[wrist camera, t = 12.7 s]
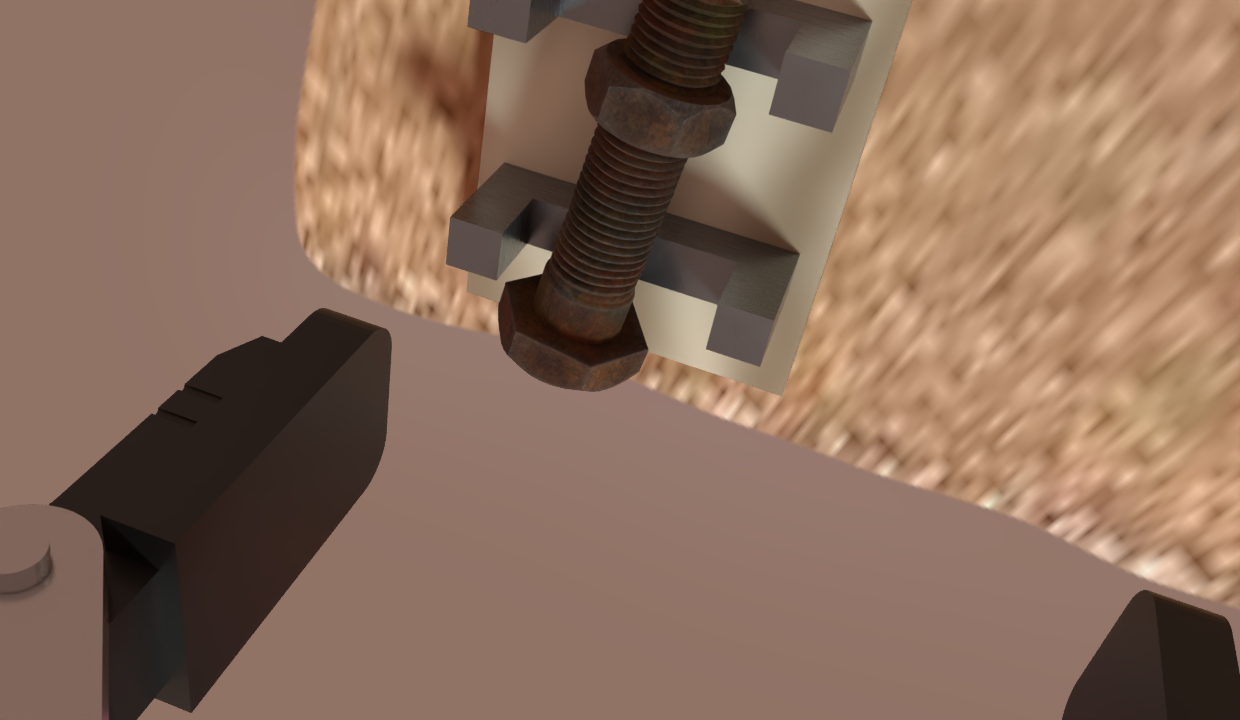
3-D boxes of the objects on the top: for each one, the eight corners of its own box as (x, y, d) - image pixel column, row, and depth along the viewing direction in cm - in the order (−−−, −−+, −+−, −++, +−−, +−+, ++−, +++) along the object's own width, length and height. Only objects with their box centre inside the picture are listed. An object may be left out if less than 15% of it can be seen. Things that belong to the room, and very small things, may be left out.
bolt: (757, -54, 36) (613, 308, 45) (612, -95, 34) (491, 290, 43) (816, 22, 32) (643, 406, 41) (653, -20, 30) (509, 391, 39)
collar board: (953, -124, 35) (949, -115, 34) (788, 376, 47) (781, 396, 46) (537, -229, 37) (520, -223, 36) (480, 275, 49) (466, 291, 48)
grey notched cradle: (872, 21, 37) (851, 70, 33) (786, 297, 43) (759, 367, 39) (532, -73, 38) (473, -37, 35) (499, 206, 45) (446, 264, 41)
